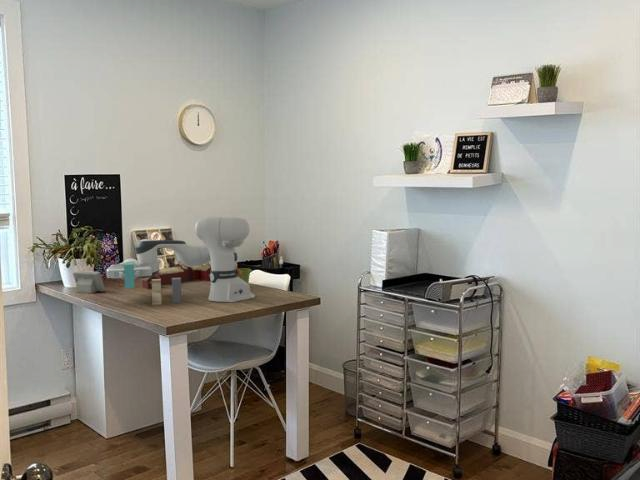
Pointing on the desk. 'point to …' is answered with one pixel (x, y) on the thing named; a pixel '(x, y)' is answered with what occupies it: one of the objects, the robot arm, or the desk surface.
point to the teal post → (129, 275)
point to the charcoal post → (176, 290)
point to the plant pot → (244, 274)
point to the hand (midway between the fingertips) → (129, 274)
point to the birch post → (156, 291)
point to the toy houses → (179, 274)
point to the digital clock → (88, 281)
